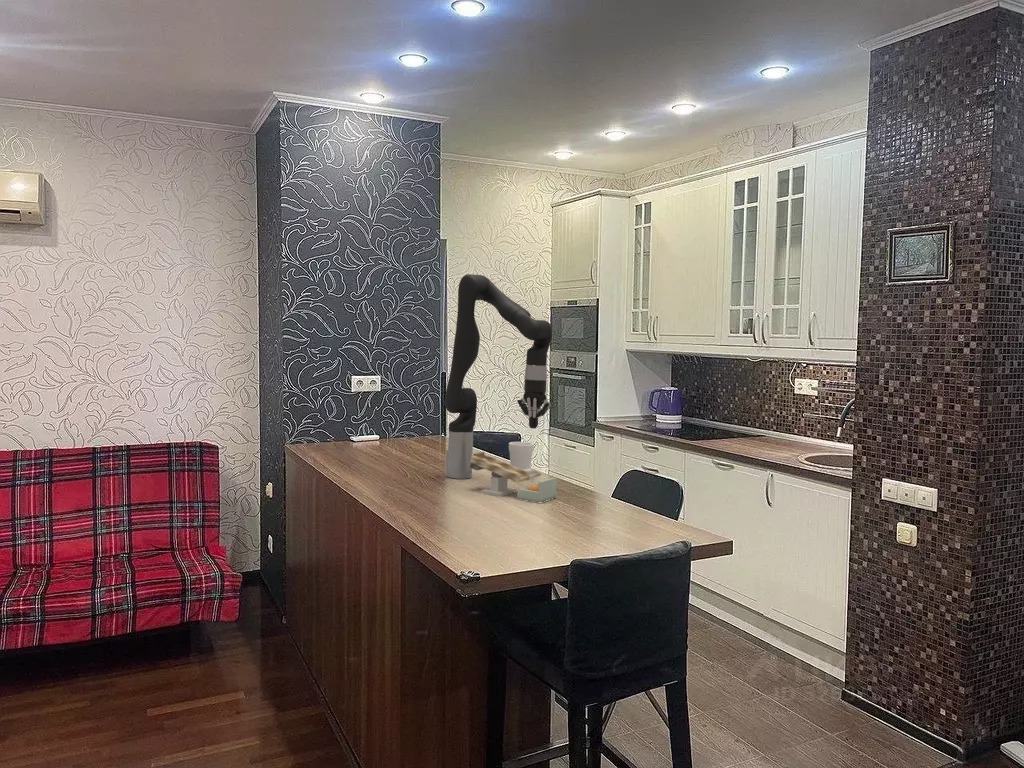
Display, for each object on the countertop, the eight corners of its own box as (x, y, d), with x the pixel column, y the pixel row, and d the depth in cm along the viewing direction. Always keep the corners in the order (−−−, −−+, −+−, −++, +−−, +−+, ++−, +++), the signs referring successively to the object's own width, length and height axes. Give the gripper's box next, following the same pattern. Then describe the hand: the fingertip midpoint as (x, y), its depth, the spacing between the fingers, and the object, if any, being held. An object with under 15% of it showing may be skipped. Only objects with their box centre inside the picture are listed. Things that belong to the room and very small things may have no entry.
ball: (524, 495, 262) (526, 483, 261) (530, 493, 265) (532, 481, 265) (535, 498, 260) (536, 486, 259) (541, 496, 263) (542, 484, 263)
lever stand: (480, 493, 268) (481, 476, 267) (496, 488, 276) (497, 472, 276) (500, 496, 263) (501, 480, 263) (516, 491, 272) (516, 475, 271)
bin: (517, 499, 260) (517, 478, 259) (532, 494, 268) (533, 474, 268) (540, 503, 255) (541, 482, 255) (555, 498, 264) (556, 477, 263)
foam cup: (518, 481, 290) (519, 446, 289) (502, 476, 297) (503, 442, 296) (537, 478, 296) (538, 444, 295) (521, 474, 303) (523, 441, 302)
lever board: (468, 467, 272) (472, 453, 271) (492, 462, 284) (496, 448, 283) (516, 488, 262) (520, 473, 261) (539, 481, 274) (542, 467, 273)
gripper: (513, 377, 271) (511, 427, 272) (547, 380, 264) (544, 431, 265) (524, 376, 277) (522, 425, 279) (557, 379, 270) (555, 429, 272)
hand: (533, 428), depth 272 cm, fingers closed
